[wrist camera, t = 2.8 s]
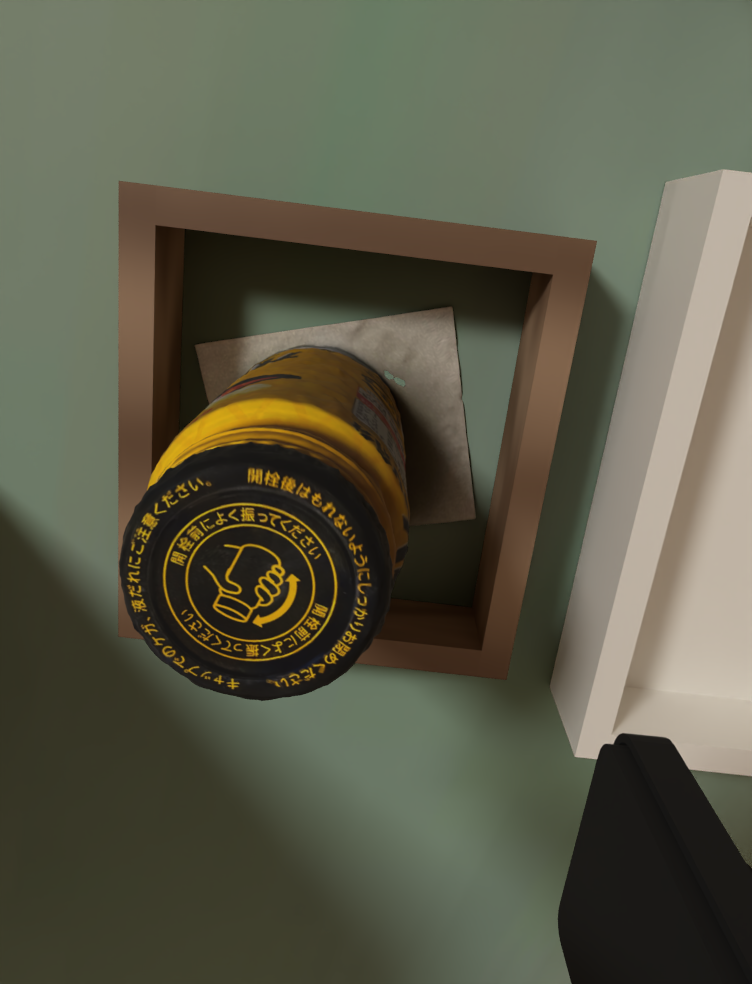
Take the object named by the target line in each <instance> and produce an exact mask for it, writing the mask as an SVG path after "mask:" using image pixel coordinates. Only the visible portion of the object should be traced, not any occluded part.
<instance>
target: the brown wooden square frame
mask: <svg viewBox="0 0 752 984" xmlns="http://www.w3.org/2000/svg"><path fill="white" fill-rule="evenodd" d="M185 229H191V230H199V231H207V232H215V233H223V234H231V235H239V236H247V237H256V238H264V239H272V240H280V241H288V242H296V243H304V244H312V245H320V246H328V247H336V248H344V249H352V250H360V251H368V252H376V253H384V254H392V255H400V256H408V257H416V258H424V259H432V260H440V261H448V262H456V263H464V264H472V265H480V266H489V267H497V268H505V269H513V270H521V271H529V272H533V273H532V279H531V284H530V290H529V295H528V301H527V306H526V312H525V317H524V323H523V328H522V334H521V339H520V345H519V350H518V356H517V361H516V367H515V372H514V378H513V383H512V389H511V394H510V400H509V406H508V411H507V417H506V422H505V428H504V433H503V439H502V444H501V450H500V455H499V461H498V466H497V472H496V477H495V483H494V488H493V494H492V499H491V505H490V510H489V516H488V521H487V527H486V533H485V538H484V544H483V549H482V555H481V560H480V566H479V571H478V577H477V582H476V588H475V593H474V599H473V604H472V607H464V606H455V605H446V604H437V603H429V602H420V601H411V600H402V599H394V598H391V602H390V609H389V612H387V614H386V616H385V622H384V625H383V627H382V629H381V632H380V633H379V634H378V635H377V636H375V637H374V639H373V642H372V644H371V645H370V647H369V648H368V649H367V650H366V651H365V652H363V653H362V654H361V656H360V657H359V658H358V659H357V661H356V662H355V663H359V664H368V665H377V666H386V667H395V668H404V669H413V670H422V671H431V672H440V673H449V674H458V675H467V676H476V677H485V678H494V679H503V680H506V679H507V675H508V670H509V665H510V660H511V655H512V650H513V645H514V641H515V636H516V631H517V626H518V621H519V616H520V612H521V607H522V602H523V597H524V592H525V587H526V582H527V578H528V573H529V568H530V563H531V558H532V553H533V549H534V544H535V539H536V534H537V529H538V524H539V519H540V515H541V510H542V505H543V500H544V495H545V490H546V486H547V481H548V476H549V471H550V466H551V461H552V456H553V452H554V447H555V442H556V437H557V432H558V427H559V423H560V418H561V413H562V408H563V403H564V398H565V393H566V389H567V384H568V379H569V374H570V369H571V364H572V360H573V355H574V350H575V345H576V340H577V335H578V330H579V326H580V321H581V316H582V311H583V306H584V301H585V297H586V292H587V287H588V282H589V277H590V272H591V267H592V263H593V258H594V253H595V248H596V243H597V241H593V240H585V239H577V238H569V237H561V236H553V235H545V234H537V233H529V232H521V231H513V230H505V229H497V228H489V227H482V226H474V225H466V224H458V223H450V222H442V221H434V220H426V219H418V218H410V217H402V216H394V215H386V214H378V213H370V212H362V211H354V210H346V209H338V208H330V207H322V206H314V205H306V204H299V203H291V202H283V201H275V200H267V199H259V198H251V197H243V196H235V195H227V194H219V193H211V192H203V191H195V190H187V189H179V188H171V187H163V186H155V185H147V184H139V183H131V182H123V181H119V541H118V637H126V638H135V639H144V638H143V636H141V635H140V634H139V633H138V632H137V631H136V630H135V629H134V627H133V623H132V621H131V618H130V616H129V614H128V612H127V609H126V605H125V601H124V593H123V590H122V587H121V577H120V575H119V560H120V553H121V548H122V543H123V535H124V532H125V528H126V526H127V524H128V522H129V521H130V519H131V516H132V514H133V513H134V508H135V506H136V505H137V504H138V503H139V502H140V501H141V500H142V497H143V496H144V494H145V493H146V491H147V488H148V484H149V480H150V477H151V474H152V472H153V471H154V469H155V467H156V465H157V464H158V462H159V460H160V458H161V456H162V455H163V453H164V452H165V451H166V450H167V448H168V447H169V445H170V444H171V442H172V441H173V439H174V438H175V437H176V436H177V435H178V434H179V410H180V376H181V341H182V307H183V272H184V237H185Z"/></svg>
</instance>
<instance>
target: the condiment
mask: <svg viewBox="0 0 752 984" xmlns="http://www.w3.org/2000/svg"><path fill="white" fill-rule="evenodd" d="M195 347H196V351H197V355H198V360H199V364H200V369H201V373H202V378H203V382H204V385H205V390H206V395H207V399H208V402H209V406H208V407H207V408H206V409H205V410H203V411H202V412H201V413H200V414H199V415H198V416H197V417H196V418H195V419H194V420H192V421H191V422H190V423H189V424H187V426H186V427H185V428H184V429H183V430H182V431H181V432H180V433H179V434H178V435H177V436H176V437H175V438H174V439H173V441H172V442H171V444H170V445H169V447H168V448H167V450H166V451H165V452H164V453H163V455H162V456H161V458H160V460H159V462H158V464H157V465H156V467H155V469H154V471H153V472H152V474H151V477H150V480H149V484H148V488H147V491H146V493H145V494H144V496H143V497H142V500H141V501H140V502H139V503H138V504H137V505H136V506H135V508H134V513H133V514H132V516H131V519H130V521H129V522H128V524H127V526H126V528H125V532H124V535H123V543H122V548H121V553H120V560H119V575H120V577H121V587H122V590H123V593H124V601H125V605H126V609H127V612H128V614H129V616H130V618H131V621H132V623H133V627H134V629H135V630H136V631H137V632H138V633H139V634H140V635H141V636H143V638H144V640H145V642H146V643H147V645H148V646H149V648H150V649H151V650H152V651H153V652H154V654H155V655H156V656H157V657H158V658H159V659H160V660H161V661H163V662H164V663H166V664H168V665H169V666H170V667H172V668H173V669H174V670H175V671H177V672H178V673H180V674H181V675H183V676H185V677H187V678H188V679H189V680H190V681H191V682H193V683H194V684H195V685H197V686H199V687H202V688H206V689H210V690H213V691H216V692H219V693H223V694H228V695H233V696H237V697H241V698H245V699H252V700H261V701H264V700H272V699H277V698H282V697H291V696H298V695H303V694H306V693H309V692H312V691H314V690H316V689H318V688H320V687H323V686H326V685H328V684H330V683H331V682H333V681H334V680H335V679H337V678H338V677H340V676H341V675H343V674H344V673H346V672H347V671H348V670H349V669H350V668H351V667H352V666H353V665H354V663H355V662H356V661H357V659H358V658H359V657H360V656H361V654H362V653H363V652H365V651H366V650H367V649H368V648H369V647H370V645H371V644H372V642H373V639H374V637H375V636H377V635H378V634H379V633H380V632H381V629H382V627H383V625H384V622H385V616H386V614H387V612H389V609H390V602H391V592H392V590H393V588H394V583H395V581H396V578H397V576H398V574H399V572H400V570H401V567H402V566H403V562H404V558H405V554H406V552H407V550H408V546H407V545H408V533H409V526H416V525H424V524H435V523H448V522H454V521H461V520H469V519H476V515H475V506H474V498H473V490H472V481H471V472H470V463H469V456H468V445H467V437H466V427H465V418H464V409H463V401H462V400H461V398H462V391H461V381H460V372H459V363H458V354H457V346H456V335H455V326H454V317H453V308H452V307H445V308H439V309H432V310H426V311H419V312H412V313H405V314H399V315H393V316H386V317H380V318H373V319H365V320H359V321H351V322H344V323H338V324H331V325H323V326H316V327H309V328H302V329H296V330H289V331H283V332H276V333H269V334H262V335H255V336H249V337H242V338H236V339H229V340H222V341H216V342H209V343H203V344H197V345H195ZM384 371H389V373H390V374H392V375H393V376H394V378H395V377H398V378H400V379H402V380H404V381H405V384H406V385H405V386H404V387H403V386H400V385H398V384H397V383H396V382H395V381H394V379H391V380H389V379H387V378H386V377H385V375H384V374H385V372H384Z"/></svg>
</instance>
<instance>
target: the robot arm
mask: <svg viewBox="0 0 752 984" xmlns="http://www.w3.org/2000/svg"><path fill="white" fill-rule="evenodd" d="M558 929H559V937H560V942H561V946H562V949H563V953H564V957H565V961H566V964H567V968H568V972H569V976H570V979H571V983H572V984H752V868H751V867H750V866H749V865H748V864H746V862H745V861H744V859H743V858H742V856H741V854H740V853H739V851H738V849H737V848H736V846H735V844H734V843H733V841H732V839H731V838H730V836H729V834H728V833H727V831H726V829H725V828H724V826H723V824H722V823H721V821H720V820H719V818H718V816H717V815H716V813H715V811H714V810H713V808H712V806H711V805H710V803H709V801H708V800H707V798H706V796H705V795H704V793H703V791H702V790H701V788H700V786H699V785H698V783H697V782H696V780H695V778H694V777H693V775H692V773H691V772H690V770H689V768H688V767H687V765H686V763H685V762H684V760H683V758H682V757H681V755H680V753H679V752H678V750H677V748H676V747H675V745H674V744H673V743H672V741H671V740H670V739H668V738H666V737H658V736H648V735H638V734H628V733H622V734H619V735H618V736H617V738H616V739H615V741H614V744H604V745H603V746H602V747H601V749H600V752H599V755H598V759H597V762H596V766H595V770H594V774H593V778H592V782H591V786H590V789H589V793H588V797H587V801H586V805H585V809H584V813H583V816H582V820H581V824H580V828H579V832H578V836H577V840H576V843H575V847H574V851H573V855H572V859H571V863H570V867H569V871H568V874H567V878H566V882H565V886H564V890H563V894H562V898H561V901H560V906H559V912H558Z"/></svg>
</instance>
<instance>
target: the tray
mask: <svg viewBox="0 0 752 984" xmlns="http://www.w3.org/2000/svg"><path fill="white" fill-rule="evenodd" d="M550 689H551V692H552V695H553V698H554V701H555V703H556V706H557V709H558V712H559V714H560V717H561V720H562V723H563V725H564V728H565V731H566V734H567V736H568V739H569V742H570V745H571V748H572V750H573V753H574V756H575V757H581V758H590V759H598V755H599V752H600V749H601V747H602V746H603V745H604V744H614V741H615V739H616V738H617V736H618V735H619V734H622V733H628V734H638V735H648V736H658V737H666V738H668V739H670V740H671V741H672V743H673V744H674V745H675V747H676V748H677V750H678V752H679V753H680V755H681V757H682V758H683V760H684V762H685V763H686V765H687V767H688V768H689V769H691V770H700V771H709V772H718V773H727V774H736V775H746V776H752V173H748V172H740V171H732V170H724V169H723V170H718V171H714V172H709V173H705V174H700V175H696V176H691V177H687V178H682V179H677V180H673V181H668V182H666V183H665V187H664V191H663V196H662V200H661V204H660V209H659V213H658V217H657V222H656V226H655V230H654V235H653V239H652V243H651V248H650V252H649V257H648V261H647V265H646V270H645V274H644V278H643V283H642V287H641V291H640V296H639V300H638V304H637V309H636V313H635V317H634V322H633V326H632V330H631V335H630V339H629V343H628V348H627V352H626V357H625V361H624V365H623V370H622V374H621V378H620V383H619V387H618V391H617V396H616V400H615V404H614V409H613V413H612V417H611V422H610V426H609V430H608V435H607V439H606V443H605V448H604V452H603V456H602V461H601V465H600V470H599V474H598V478H597V483H596V487H595V491H594V496H593V500H592V504H591V509H590V513H589V517H588V522H587V526H586V530H585V535H584V539H583V543H582V548H581V552H580V556H579V561H578V565H577V570H576V574H575V578H574V583H573V587H572V591H571V596H570V600H569V604H568V609H567V613H566V617H565V622H564V626H563V630H562V635H561V639H560V643H559V648H558V652H557V656H556V661H555V665H554V669H553V674H552V678H551V683H550Z"/></svg>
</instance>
